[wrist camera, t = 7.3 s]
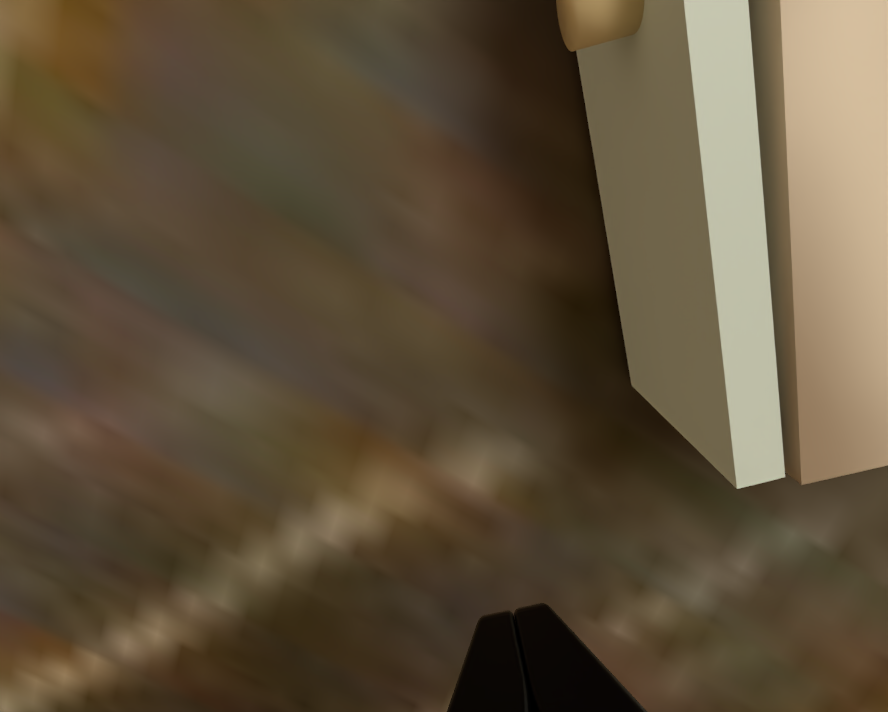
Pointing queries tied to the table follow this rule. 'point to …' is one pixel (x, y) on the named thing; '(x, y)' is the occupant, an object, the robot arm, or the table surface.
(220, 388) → the table surface
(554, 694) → the robot arm
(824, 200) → the cabinet
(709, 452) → the cabinet door
